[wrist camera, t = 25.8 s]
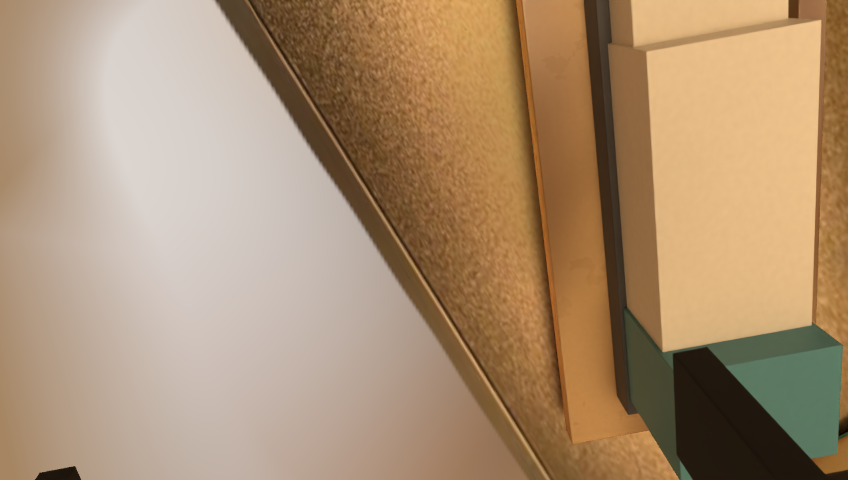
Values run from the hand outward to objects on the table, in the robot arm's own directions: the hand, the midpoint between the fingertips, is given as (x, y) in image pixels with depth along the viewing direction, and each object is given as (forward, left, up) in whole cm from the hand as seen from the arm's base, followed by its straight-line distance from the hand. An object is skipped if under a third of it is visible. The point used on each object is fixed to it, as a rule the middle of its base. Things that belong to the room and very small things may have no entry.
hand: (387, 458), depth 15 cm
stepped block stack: (+15, -3, -22) cm, 27 cm away
